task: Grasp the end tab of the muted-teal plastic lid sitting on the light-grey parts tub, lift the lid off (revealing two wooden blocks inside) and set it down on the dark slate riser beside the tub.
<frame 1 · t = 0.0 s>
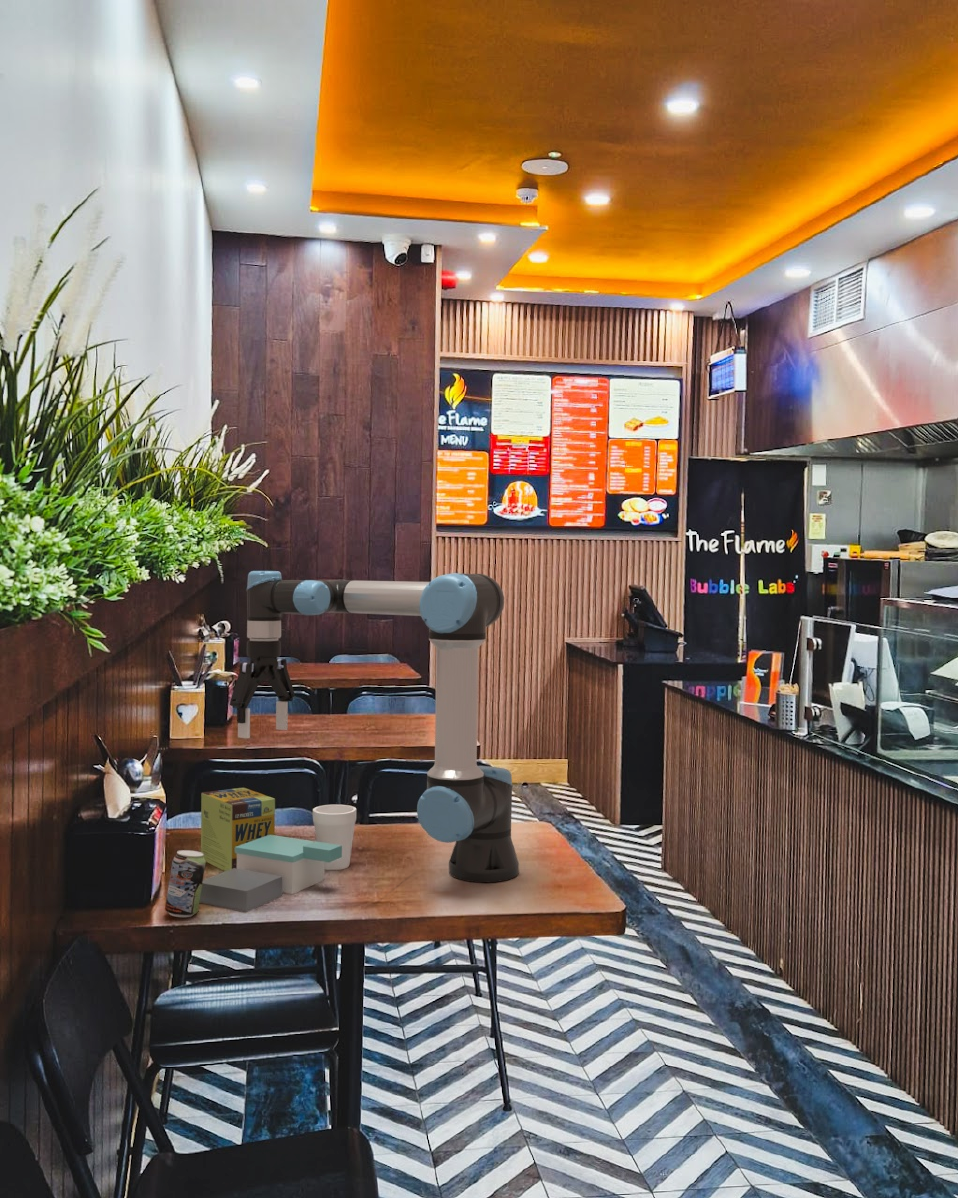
hand: (263, 733, 238), 28 cm above the table, fingers open, 13 cm apart
block a: (294, 884, 217), point 1 cm above the table, touching tub
protein box: (237, 866, 232), on the table
foam cup: (334, 869, 230), on the table
lid: (281, 851, 218), point 7 cm above the table, touching tub
tub: (280, 884, 218), on the table
beverage can: (185, 916, 199), on the table
block b: (267, 879, 220), point 1 cm above the table, touching tub
riser: (240, 902, 207), on the table
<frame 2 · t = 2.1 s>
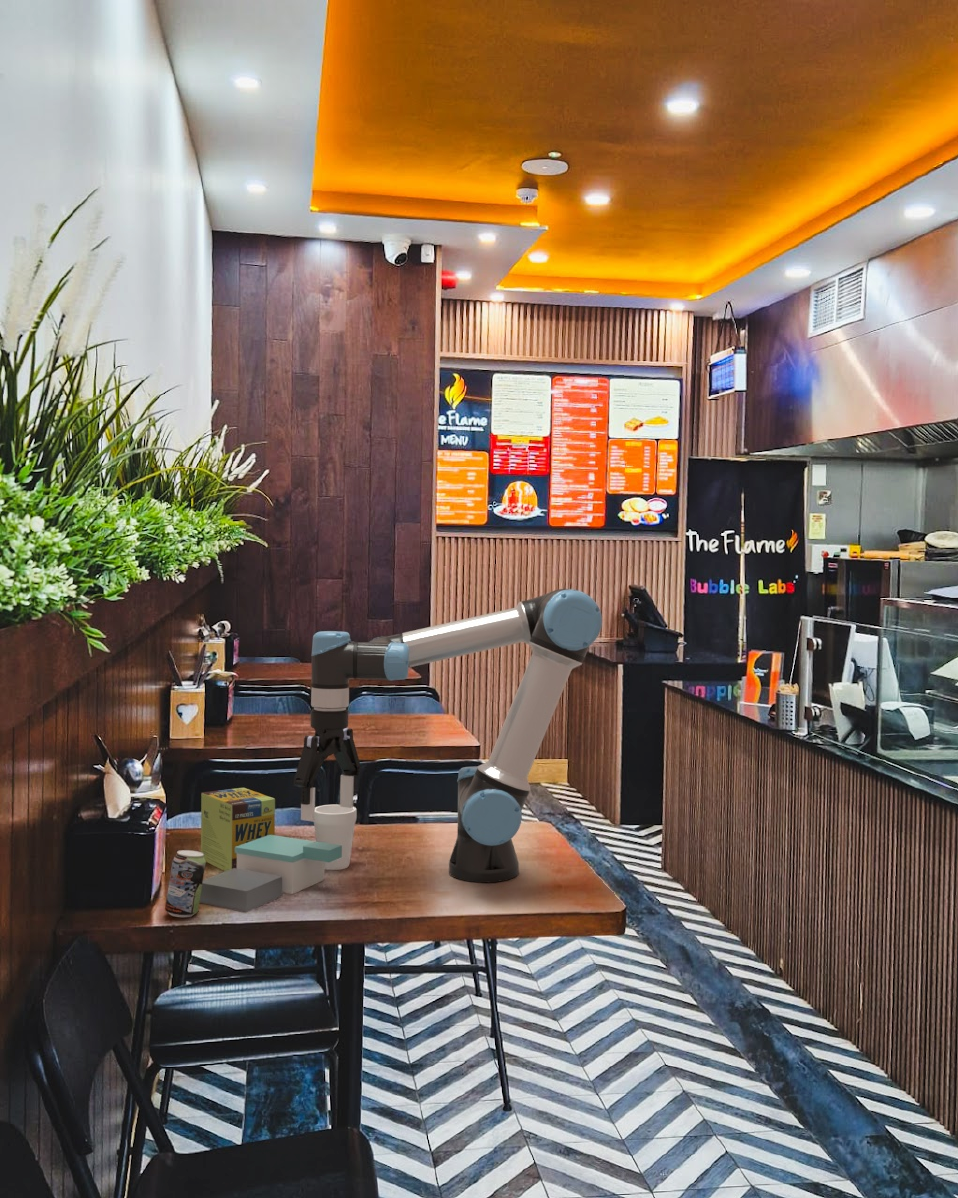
hand: (327, 813, 213), 16 cm above the table, fingers open, 13 cm apart
nothing on the table moved.
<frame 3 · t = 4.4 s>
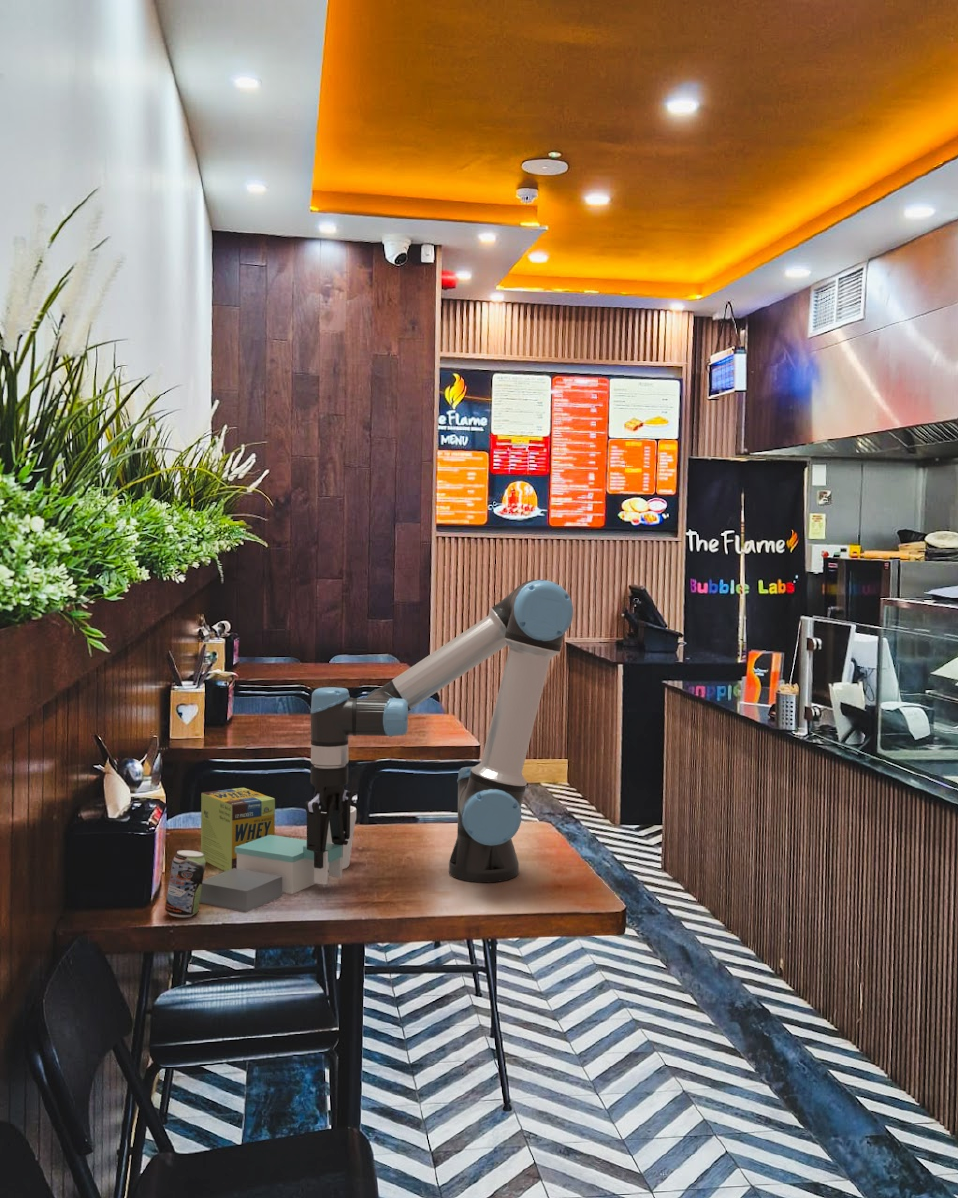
hand: (328, 879, 213), 3 cm above the table, fingers closed on lid, 4 cm apart
lid: (281, 851, 218), point 7 cm above the table, touching gripper, tub
everything else where it was.
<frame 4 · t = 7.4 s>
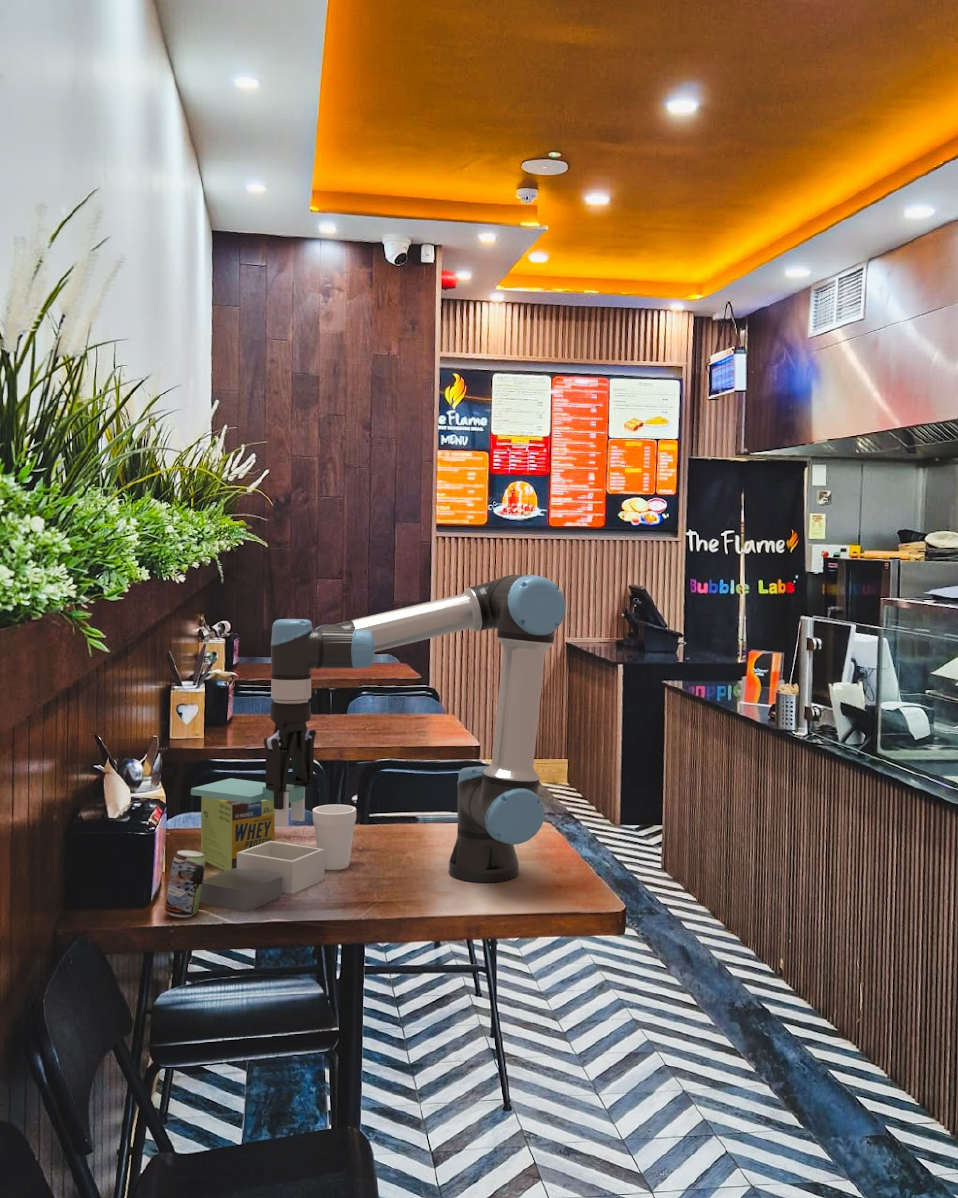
hand: (289, 822, 201), 17 cm above the table, fingers closed on lid, 4 cm apart
lid: (240, 793, 206), point 21 cm above the table, touching gripper
everything else where it was.
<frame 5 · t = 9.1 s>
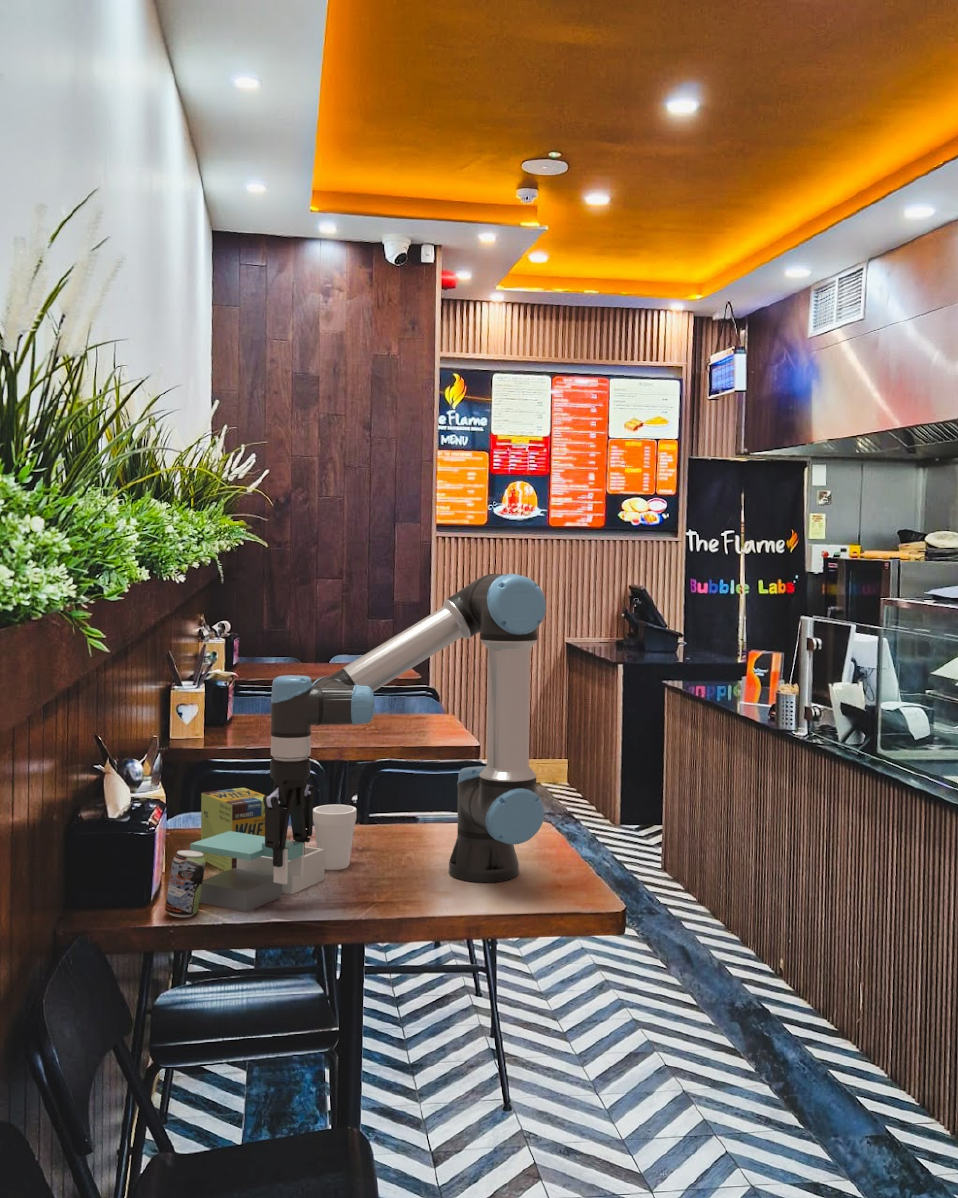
hand: (288, 879, 201), 6 cm above the table, fingers closed on lid, 4 cm apart
lid: (239, 848, 206), point 11 cm above the table, touching gripper
everything else where it was.
when the fingers open (3 cm above the table, at t = 10.5 s): lid drops 2 cm, resting on riser.
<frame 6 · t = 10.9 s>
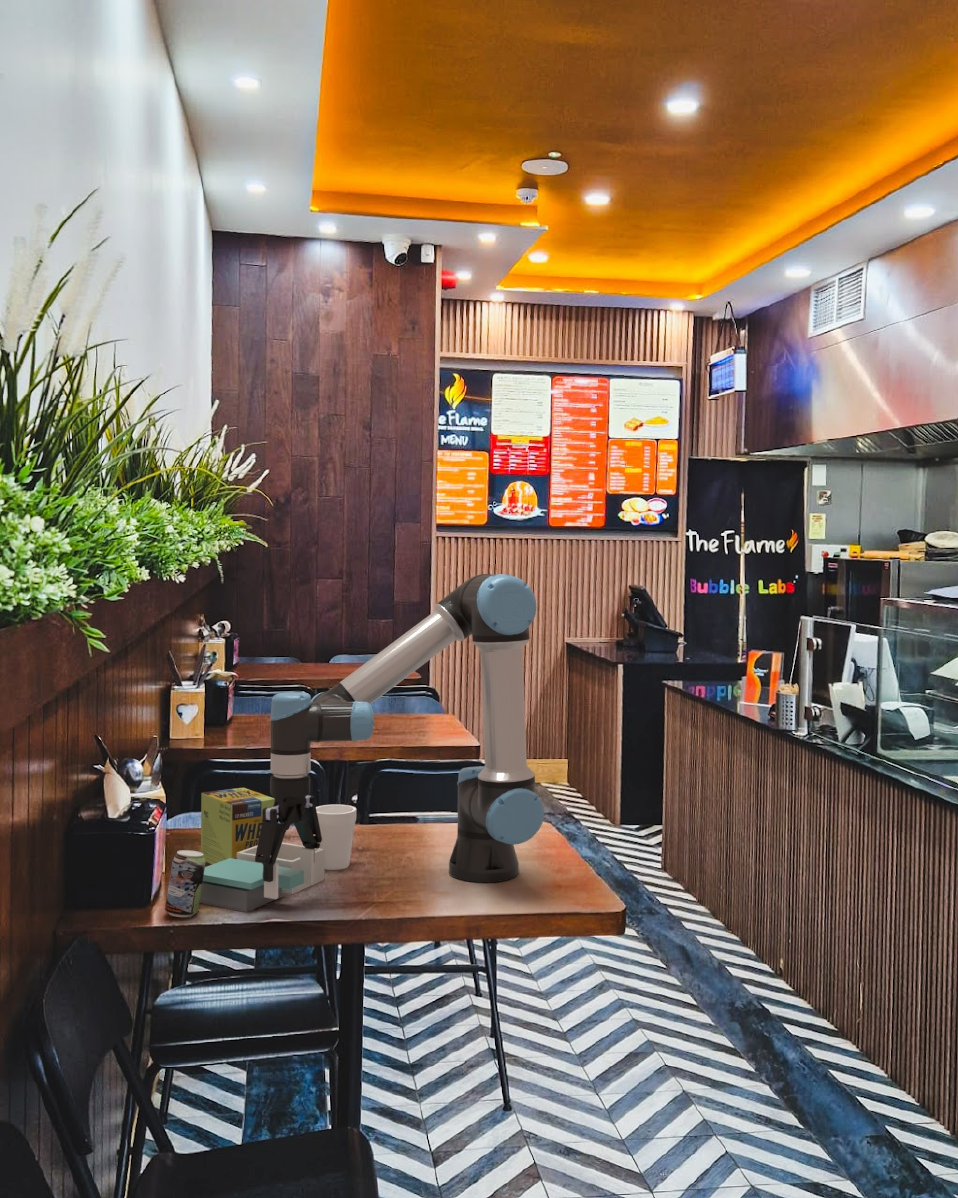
hand: (289, 889, 201), 4 cm above the table, fingers open, 10 cm apart
lid: (240, 876, 206), point 5 cm above the table, touching riser
everything else where it was.
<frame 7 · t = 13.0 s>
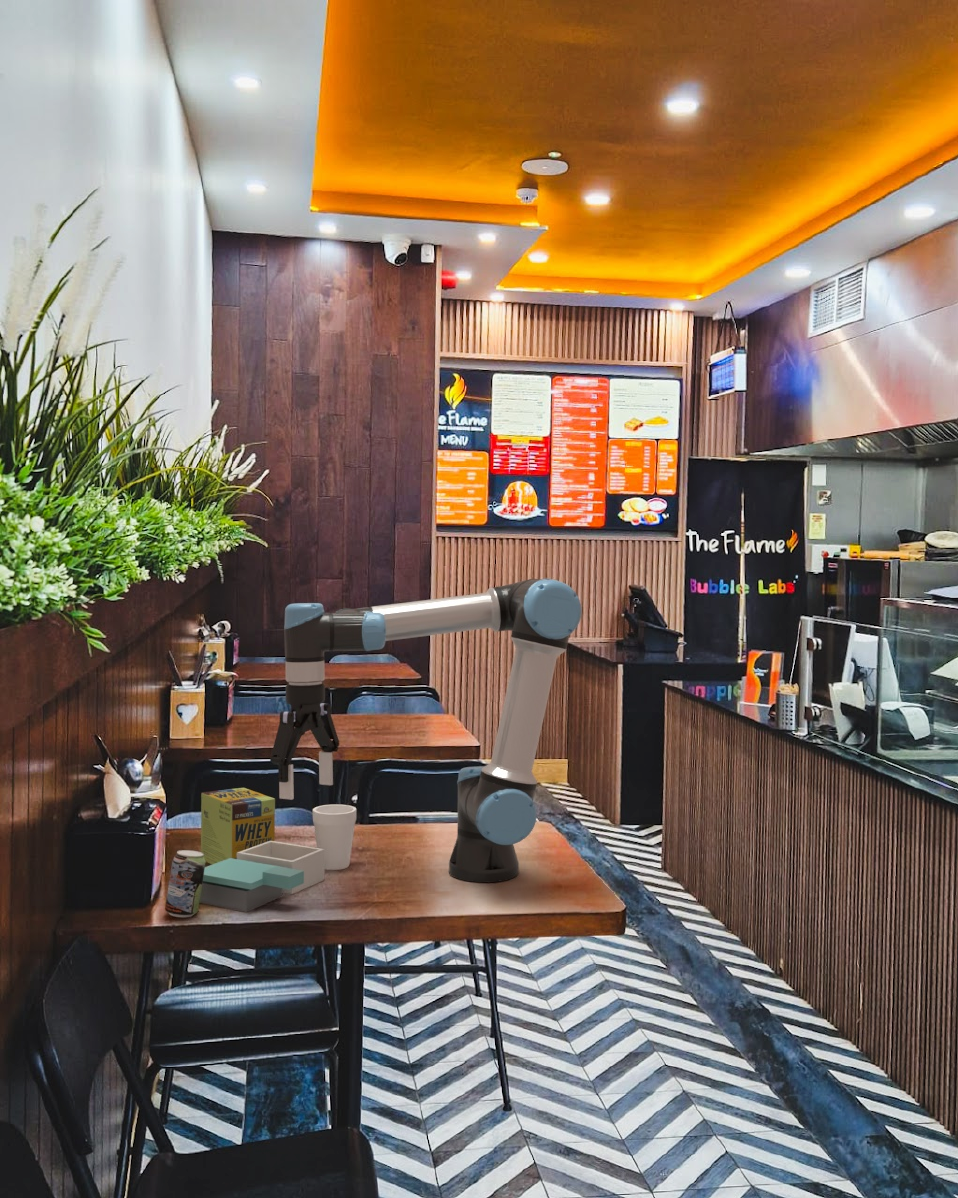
hand: (307, 791, 206), 22 cm above the table, fingers open, 13 cm apart
nothing on the table moved.
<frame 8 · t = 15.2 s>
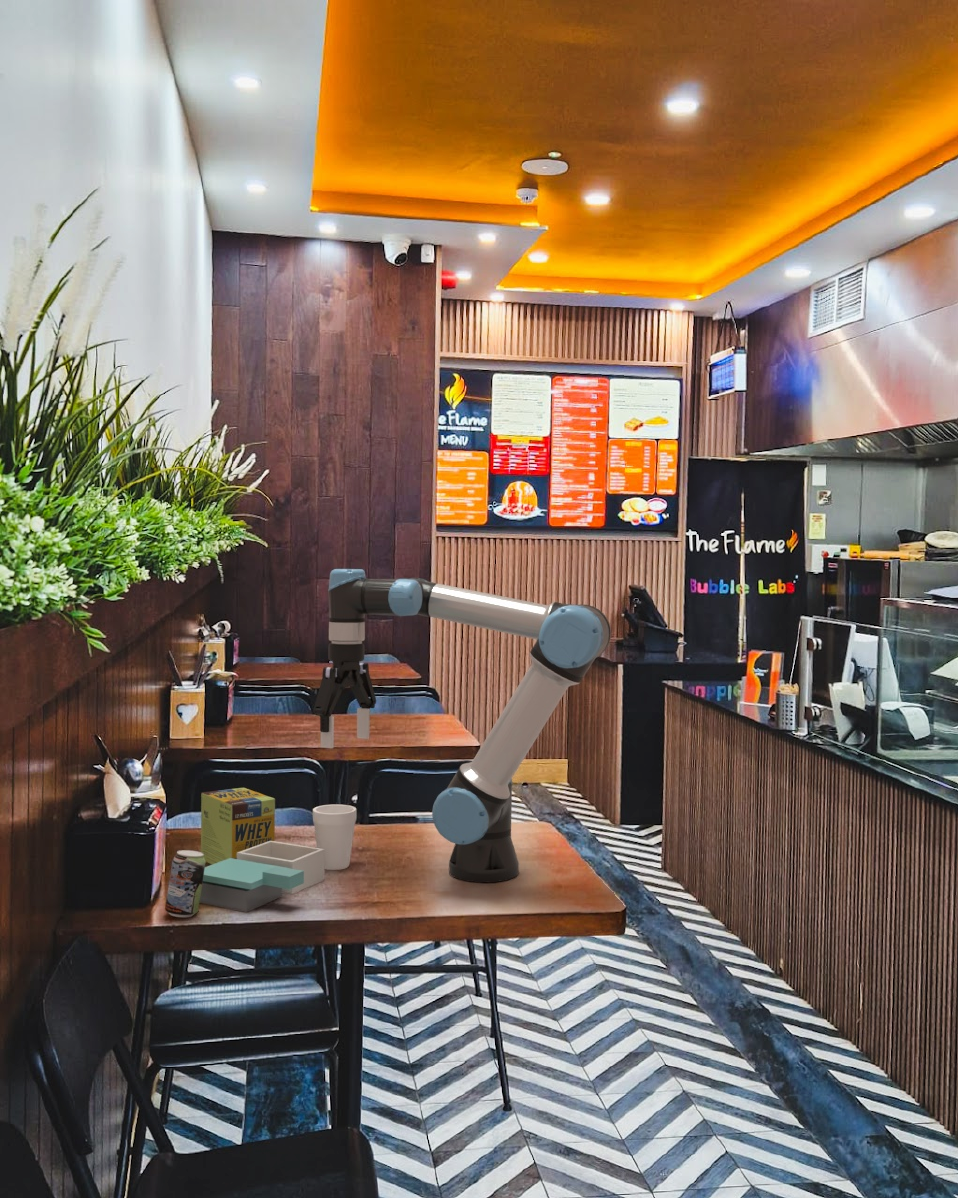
hand: (345, 743, 222), 29 cm above the table, fingers open, 13 cm apart
nothing on the table moved.
at the end: lid inside the target area on the riser (0.0 cm from its centre), point 5.1 cm above the riser's base; lid touching riser; the gripper is holding nothing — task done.
